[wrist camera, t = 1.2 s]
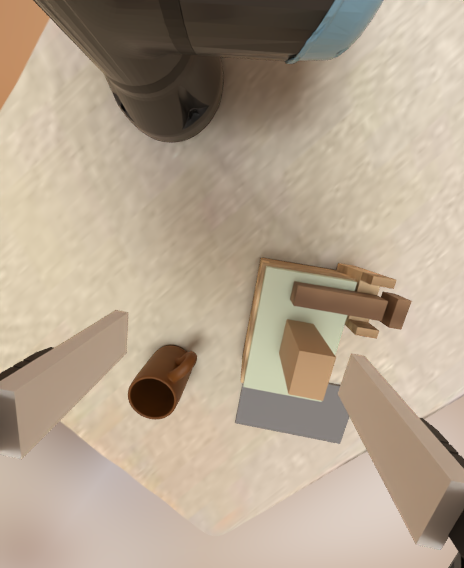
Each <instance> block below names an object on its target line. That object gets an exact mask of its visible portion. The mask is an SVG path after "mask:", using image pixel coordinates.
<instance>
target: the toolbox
mask: <svg viewBox="0 0 464 568" xmlns="http://www.w3.org/2000/svg"><path fill="white" fill-rule="evenodd" d="M266 266H271V267H277V268H283V269H289V270H295V271H301V272H307V273H313V274H319V275H325V276H331V277H337V278H343V279H349V280H354V281H356V282H357V285H356V288H355V292H361V293H367V294H373V295H377V294H378V291H379V288H380V286H381V287H387V288H393V289H394V286H395V283H396V280H395V279H392V278H389V277H386V276H383V275H380V274H377V273H374V272H371V271H368V270H365V269H362V268H359V267H356V266H352V265H346V264H340V263H338V266H337V269H336V270H333V269H327V268H321V267H315V266H309V265H303V264H297V263H291V262H285V261H279V260H273V259H267V258H261V260H260V265H259V271H258V276H257V281H256V287H255V292H254V297H253V303H252V308H251V313H250V319H249V324H248V329H247V335H246V340H245V345H244V350H243V356H242V369H241V382H242V383H243V382H244V376H245V371H246V366H247V361H248V356H249V351H250V346H251V341H252V335H253V330H254V325H255V320H256V315H257V310H258V305H259V300H260V294H261V289H262V284H263V279H264V274H265V269H266ZM368 322H369V319H366V318H361V317H355V316H349V315H347V318H346V322H345V325H346V326H347V327H348V328H349V329H350V330H351V331H352V332H353V333H354V334H355V335H359V336H365V337H371V338H376V339H377V336H378V333H379V330H377V329H376V328H375V327H374V326H372V325H371V324H370V323H368Z"/></svg>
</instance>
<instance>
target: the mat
mask: <svg viewBox="0 0 464 568" xmlns="http://www.w3.org/2000/svg"><path fill="white" fill-rule="evenodd" d="M339 388H340V385H337V384H331V383H328V386H327V389H326V393H325V396H324V399H323V401H322V402H319V401H314V400H309V399H304V398H298V397H293V396H288V395H283V394H277V393H272V392H267V391H262V390H257V389H251V388H246V387H243V385H242V390H241V395H240V401H239V406H238V411H237V416H236V421H235V423H237V424H242V425H247V426H252V427H258V428H263V429H268V430H273V431H278V432H283V433H288V434H293V435H298V436H303V437H308V438H313V439H318V440H323V441H328V442H333V443H338V444H340V442H341V439H342V436H343V434H344V431H345V428H346V425H347V422H348V419H349V415H348V413H347V411H346V409H345V407H344V405H343V403H342V401H341V399H340V397H339V395H338V391H339Z"/></svg>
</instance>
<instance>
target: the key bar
mask: <svg viewBox="0 0 464 568" xmlns="http://www.w3.org/2000/svg"><path fill="white" fill-rule="evenodd" d="M290 300H291V302H292V304H293V306H297V307H303V308H309V309H315V310H320V311H326V312H332V313H338V314H343V315H349V316H355V317H361V318H366V319H372V320H378V321H380V322H382V323H383V324H384V325H386V326H387V327H389V328H395V329H402V326H403V323H404V320H405V318H406V315H407V312H408V309H409V307H410V304H411V301H410V300H408V299H406V298H403V297H401V296H399V295H396V294H393V293H388V292H383V293H382V296H381V297H379V296H377V295H373V294H367V293H361V292H355V291H349V290H343V289H338V288H332V287H326V286H320V285H314V284H308V283H302V282H296V281H294V284H293V288H292V293H291V297H290Z"/></svg>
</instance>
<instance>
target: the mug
mask: <svg viewBox="0 0 464 568" xmlns="http://www.w3.org/2000/svg"><path fill="white" fill-rule="evenodd" d="M196 361H197V355H196V353H194V352H192V351H190V352H186V351H185V350H184V349H182V348H180V347H178V346H173V345H168V346H164V347H162V348H160V349H158V350H157V351H156V352H155V353H154V354H153V356H152V357H151V358H150V359H149V361H148V362H147V363H146V364H145V366H144V367H143V368H142V369H141V371H140V372H139V373H138V374H137V376H136V377H135V379H134V380H133V382H132V383H131V385H130V387H129V390H128V400H129V403H130V405H131V406H132V408H133V409H134V410H135V411H136V412H137V413H138V414H140V415H141V416H143V417H146V418H149V419H162V418H165V417H167V416H169V415H170V414H171V413H172V412H173V411H174V409H175V408H176V406H177V404H178V402H179V400H180V398H181V396H182V393H183V391H184V388H185V386H186V384H187V381H188V379H189V376H190V374H191V371H192V368H193V367H194V365H195V363H196Z"/></svg>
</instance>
